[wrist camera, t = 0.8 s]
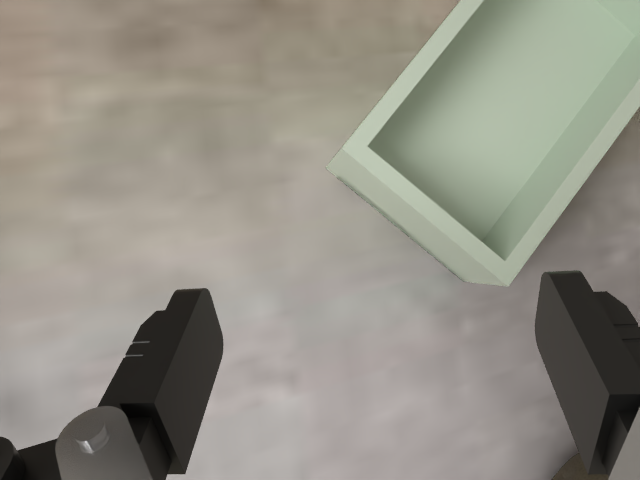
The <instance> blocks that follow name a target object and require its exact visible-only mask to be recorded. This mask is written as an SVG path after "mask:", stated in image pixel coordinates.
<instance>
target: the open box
mask: <svg viewBox="0 0 640 480" xmlns="http://www.w3.org/2000/svg"><path fill="white" fill-rule="evenodd" d="M639 107H640V0H460V1H459V2H458V4H457V5H456V6H455V7H454V9H453V10H452V11H451V12H450V14H449V15H448V16H447V17H446V19H445V20H444V21H443V22H442V24H441V25H440V26H439V27H438V29H437V30H436V31H435V32H434V33H433V35H432V36H431V37H430V38H429V40H428V41H427V42H426V43H425V45H424V46H423V47H422V48H421V50H420V51H419V52H418V53H417V55H416V56H415V57H414V58H413V60H412V61H411V62H410V63H409V64H408V66H407V67H406V68H405V69H404V71H403V72H402V73H401V74H400V76H399V77H398V78H397V79H396V81H395V82H394V83H393V84H392V86H391V87H390V88H389V89H388V91H387V92H386V93H385V94H384V95H383V97H382V98H381V99H380V100H379V102H378V103H377V104H376V105H375V107H374V108H373V109H372V110H371V112H370V113H369V114H368V115H367V117H366V118H365V119H364V120H363V122H362V123H361V124H360V125H359V127H358V128H357V129H356V130H355V131H354V133H353V134H352V135H351V136H350V138H349V139H348V140H347V141H346V143H345V144H344V145H343V146H342V148H341V149H340V150H339V151H338V153H337V154H336V155H335V156H334V158H333V159H332V160H331V161H330V162H329V164H328V165H327V166H326V167H325V168H326V169H327V170H329V171H330V172H331V173H332V174H333V175H335V176H336V177H337V178H338V179H340V180H341V181H342V182H343V183H344V184H346V185H347V186H348V187H349V188H350V189H352V190H353V191H354V192H355V193H357V194H358V195H359V196H360V197H361V198H363V199H364V200H365V201H366V202H367V203H369V204H370V205H371V206H372V207H374V208H375V209H376V210H377V211H378V212H380V213H381V214H382V215H383V216H384V217H386V218H387V219H388V220H389V221H391V222H392V223H393V224H394V225H395V226H397V227H398V228H399V229H400V230H402V231H403V232H404V233H405V234H406V235H408V236H409V237H410V238H411V239H412V240H414V241H415V242H416V243H417V244H419V245H420V246H421V247H422V248H423V249H425V250H426V251H427V252H428V253H429V254H431V255H432V256H433V257H434V258H436V259H437V260H438V261H439V262H440V263H442V264H443V265H444V266H445V267H446V268H448V269H449V270H450V271H451V272H453V273H454V274H455V275H456V276H457V277H459V278H460V279H461V280H462V281H463V282H471V283H480V284H489V285H498V286H507V287H508V286H509V285H510V284H511V282H512V281H513V279H514V278H515V277H516V275H517V274H518V273H519V271H520V270H521V268H522V267H523V266H524V264H525V263H526V262H527V260H528V259H529V257H530V256H531V255H532V253H533V252H534V251H535V249H536V248H537V247H538V245H539V244H540V242H541V241H542V240H543V238H544V237H545V236H546V234H547V233H548V231H549V230H550V229H551V227H552V226H553V225H554V223H555V222H556V220H557V219H558V218H559V216H560V215H561V214H562V212H563V211H564V209H565V208H566V207H567V205H568V204H569V203H570V201H571V200H572V199H573V197H574V196H575V194H576V193H577V192H578V190H579V189H580V188H581V186H582V185H583V183H584V182H585V181H586V179H587V178H588V177H589V175H590V174H591V172H592V171H593V170H594V168H595V167H596V166H597V164H598V163H599V162H600V160H601V159H602V157H603V156H604V155H605V153H606V152H607V151H608V149H609V148H610V146H611V145H612V144H613V142H614V141H615V140H616V138H617V137H618V135H619V134H620V133H621V131H622V130H623V129H624V127H625V126H626V125H627V123H628V122H629V120H630V119H631V118H632V116H633V115H634V114H635V112H636V111H637V109H638V108H639Z"/></svg>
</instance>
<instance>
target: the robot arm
mask: <svg viewBox="0 0 640 480" xmlns="http://www.w3.org/2000/svg"><path fill="white" fill-rule="evenodd" d="M535 336H536V342H537V346H538V349H539V352H540V354H541V357H542V359H543V362H544V364H545V367H546V370H547V372H548V375H549V377H550V380H551V382H552V385H553V387H554V390H555V392H556V395H557V397H558V400H559V402H560V405H561V408H562V410H563V413H564V415H565V418H566V420H567V423H568V425H569V428H570V430H571V433H572V435H573V438H574V440H575V443H576V446H577V448H578V451H579V453H580V456H581V458H582V461H583V463H584V466H585V468H586V471H587V473H588V475H589V474H608V477H609V479H608V480H640V327H638V323H637V321H636V320H635V318H634V317H633V315H632V314H631V312H630V311H629V309H628V308H627V306H626V305H624V304H623V303H621V302H620V301H619V300H617V299H616V298H615V297H613V296H612V295H611V294H609V293H608V292H607V291H606V292H593V290H592V289H591V287H590V285H589V284H588V282H587V280H586V279H585V277H584V275H583V274H582V273H581V272H580V271H558V272H544V273H543V275H542V278H541V284H540V291H539V298H538V305H537V312H536V319H535ZM125 355H126V357H125V358H123V360H122V362H121V364H120V366H119V368H118V369H117V371H116V373H115V375H114V377H113V379H112V381H111V383H110V384H109V386H108V388H107V390H106V392H105V394H104V396H103V397H102V399H101V401H100V403H99V405H98V407H96V408H93V409H90V410H88V411H86V412H84V413H82V414H80V415H79V416H77V417H76V418H74V419H73V420H72V421H71V422H70V423H69V424H68V425H67V426H66V427H65V428H64V429H63V431H62V432H61V433H60V435H59V437H58V439H55V440H52V441H48V442H45V443H41V444H38V445H35V446H31V447H28V448H24V449H21V450H18V451H17V450H16V448H15V447H14V445H13V444H12V443H11V441H9V440H8V439H6V438H4V437H0V480H166V477H167V474H185V473H186V470H187V467H188V463H189V460H190V457H191V454H192V451H193V448H194V444H195V441H196V438H197V435H198V432H199V429H200V425H201V422H202V419H203V416H204V413H205V410H206V407H207V403H208V400H209V397H210V394H211V391H212V388H213V384H214V381H215V378H216V375H217V372H218V369H219V365H220V362H221V359H222V355H223V336H222V331H221V328H220V325H219V321H218V318H217V315H216V311H215V308H214V304H213V301H212V298H211V295H210V292H209V290H208V289H206V288H201V289H181V290H176V291H175V292H174V294H173V296H172V298H171V300H170V302H169V304H168V306H167V308H166V310H163V311H156V312H155V313H154V314H153V315H152V316H150V317H149V318H148V319H147V320H146V321H145V322H144V323H143V324H142V325H141V326H140V328H139V330H138V332H137V334H136V336H135V338H134V340H133V344H132V345H130V347H129V349H128V351H127V353H126V354H125Z"/></svg>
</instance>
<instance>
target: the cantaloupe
mask: <svg viewBox="0 0 640 480" xmlns="http://www.w3.org/2000/svg"><path fill="white" fill-rule="evenodd" d="M608 479H609V477H608V474H589V475H588V473H587V471H586V468H585V466H584V463H583V461H582V458H581V456H580V453H578V454H577V455H575V456H574V457H572V458H571V459H570V460H569V461H568V462H566V463H565V465H564V466H563V467H562V468H561V469H560V470H559V471H558V473H557V474H556V475H555V476H554V477H553V479H552V480H608Z"/></svg>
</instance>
